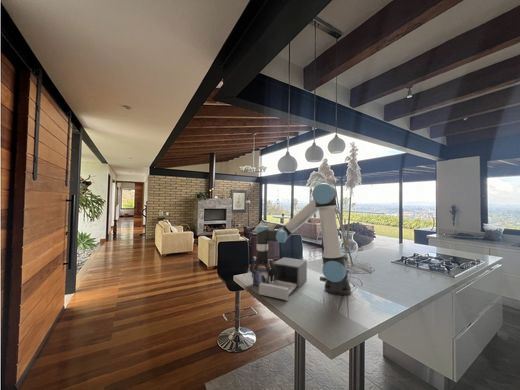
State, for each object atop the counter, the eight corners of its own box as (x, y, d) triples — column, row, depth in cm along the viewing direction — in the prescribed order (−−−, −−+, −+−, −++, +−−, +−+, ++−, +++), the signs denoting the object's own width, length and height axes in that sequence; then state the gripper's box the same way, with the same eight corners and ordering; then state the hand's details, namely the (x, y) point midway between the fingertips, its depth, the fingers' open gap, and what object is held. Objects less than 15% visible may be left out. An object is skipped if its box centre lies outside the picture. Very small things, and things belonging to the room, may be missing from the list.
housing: (306, 280, 151) (306, 260, 152) (298, 289, 135) (298, 266, 136) (283, 276, 159) (283, 257, 160) (273, 284, 143) (273, 263, 144)
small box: (252, 286, 140) (252, 269, 140) (256, 282, 146) (256, 266, 146) (268, 288, 136) (268, 271, 136) (271, 284, 142) (271, 268, 142)
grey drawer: (298, 287, 136) (298, 278, 136) (286, 300, 117) (286, 289, 117) (273, 282, 143) (273, 273, 144) (258, 294, 125) (258, 284, 125)
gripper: (281, 250, 140) (281, 285, 139) (249, 247, 150) (249, 279, 149) (276, 253, 133) (276, 290, 132) (243, 249, 144) (243, 283, 143)
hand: (262, 284), depth 141 cm, fingers closed on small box, 11 cm apart
